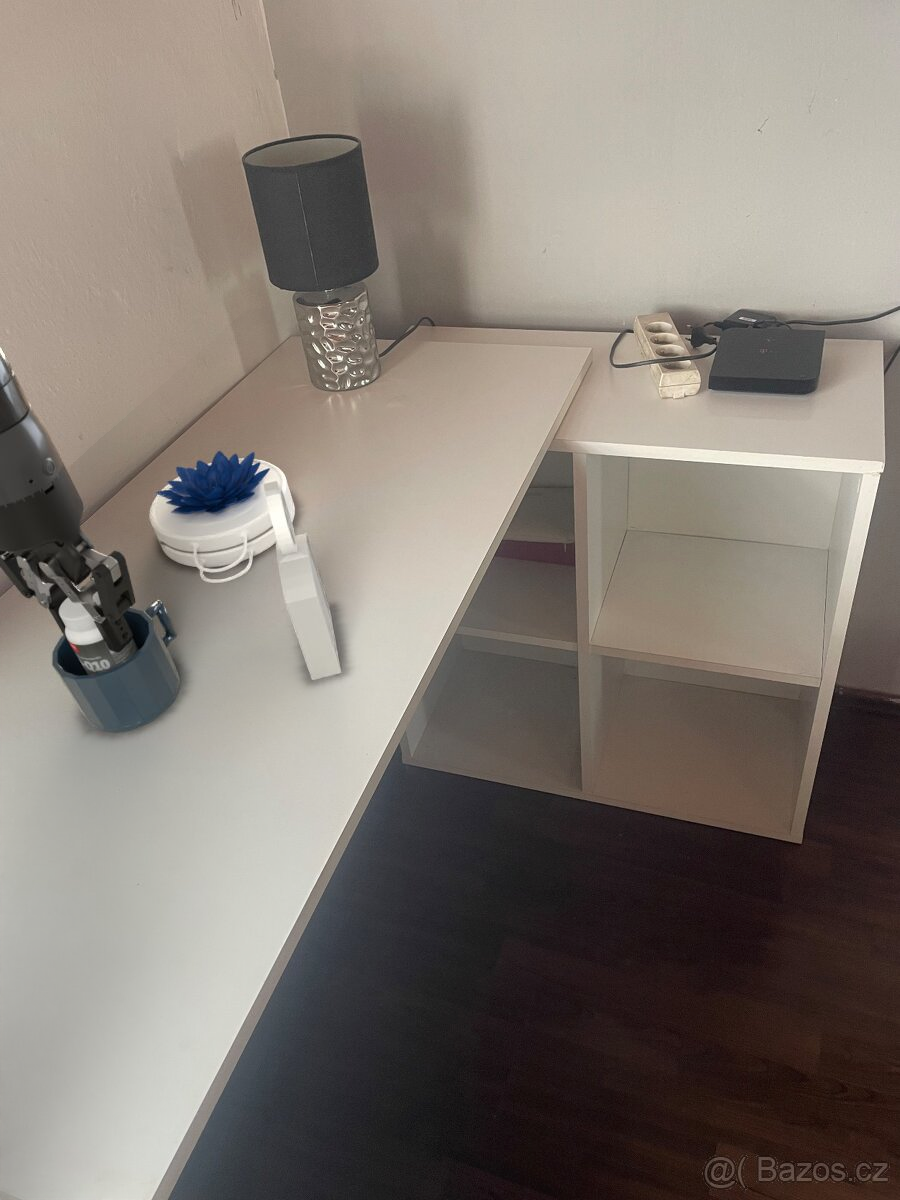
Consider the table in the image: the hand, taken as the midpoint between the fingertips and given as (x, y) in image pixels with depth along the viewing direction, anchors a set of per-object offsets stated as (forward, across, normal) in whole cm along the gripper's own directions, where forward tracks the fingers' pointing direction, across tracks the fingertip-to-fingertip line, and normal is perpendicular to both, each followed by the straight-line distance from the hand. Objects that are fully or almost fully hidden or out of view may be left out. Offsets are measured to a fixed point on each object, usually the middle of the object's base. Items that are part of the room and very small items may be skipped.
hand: (99, 638), depth 76 cm
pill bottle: (+5, 0, 0) cm, 5 cm away
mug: (+8, 0, +2) cm, 8 cm away
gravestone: (+8, +14, +12) cm, 20 cm away
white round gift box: (+8, -6, +24) cm, 26 cm away
